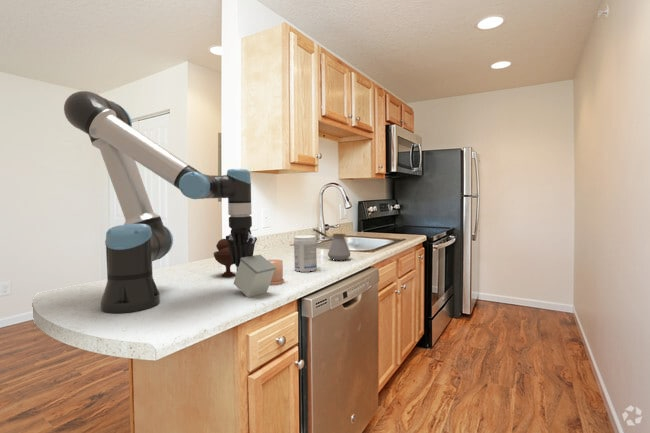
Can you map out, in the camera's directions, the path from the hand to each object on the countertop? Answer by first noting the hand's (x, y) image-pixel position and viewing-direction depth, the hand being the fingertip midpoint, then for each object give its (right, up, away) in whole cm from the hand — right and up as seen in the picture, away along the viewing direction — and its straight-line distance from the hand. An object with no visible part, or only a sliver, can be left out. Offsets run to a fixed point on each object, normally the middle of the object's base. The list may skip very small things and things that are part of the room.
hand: (242, 285), depth 121 cm
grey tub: (+3, 0, -3) cm, 4 cm away
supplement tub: (+20, 0, +33) cm, 38 cm away
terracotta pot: (+9, -1, +11) cm, 14 cm away
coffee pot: (+31, +1, +61) cm, 68 cm away
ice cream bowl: (-11, -1, +23) cm, 25 cm away
